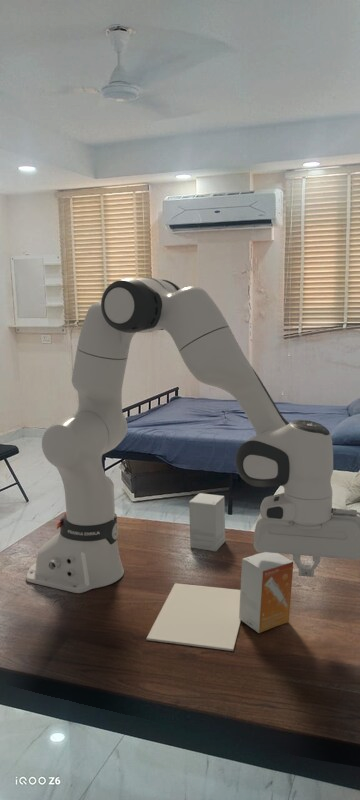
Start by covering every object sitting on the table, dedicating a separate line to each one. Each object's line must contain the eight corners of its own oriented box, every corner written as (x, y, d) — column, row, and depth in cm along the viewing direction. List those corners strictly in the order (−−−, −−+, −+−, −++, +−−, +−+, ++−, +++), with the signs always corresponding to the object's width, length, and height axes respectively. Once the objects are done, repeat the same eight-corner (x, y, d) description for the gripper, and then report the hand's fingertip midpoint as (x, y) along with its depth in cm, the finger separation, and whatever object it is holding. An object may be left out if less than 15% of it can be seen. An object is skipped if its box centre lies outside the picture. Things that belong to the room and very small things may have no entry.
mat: (146, 640, 111) (146, 638, 111) (175, 584, 132) (175, 583, 132) (233, 651, 107) (233, 649, 107) (248, 592, 128) (248, 590, 128)
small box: (259, 634, 112) (262, 571, 109) (238, 618, 117) (241, 557, 114) (290, 622, 116) (294, 561, 114) (268, 607, 121) (272, 548, 119)
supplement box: (226, 541, 155) (225, 495, 153) (215, 552, 148) (215, 504, 146) (200, 537, 158) (199, 492, 156) (189, 547, 151) (188, 501, 149)
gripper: (364, 504, 111) (361, 573, 113) (256, 497, 116) (255, 563, 118) (366, 516, 105) (363, 588, 107) (252, 508, 110) (251, 577, 112)
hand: (306, 575), depth 113 cm, fingers closed
